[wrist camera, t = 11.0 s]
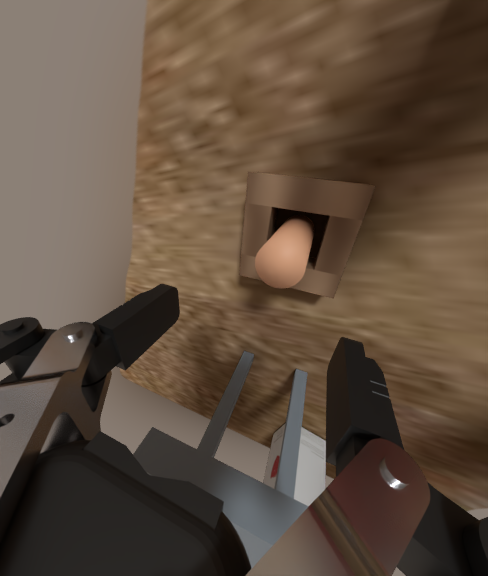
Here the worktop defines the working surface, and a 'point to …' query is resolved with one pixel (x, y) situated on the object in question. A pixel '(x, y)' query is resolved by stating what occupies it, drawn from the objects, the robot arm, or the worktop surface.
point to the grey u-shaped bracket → (228, 481)
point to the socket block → (314, 199)
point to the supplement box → (301, 465)
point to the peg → (286, 253)
